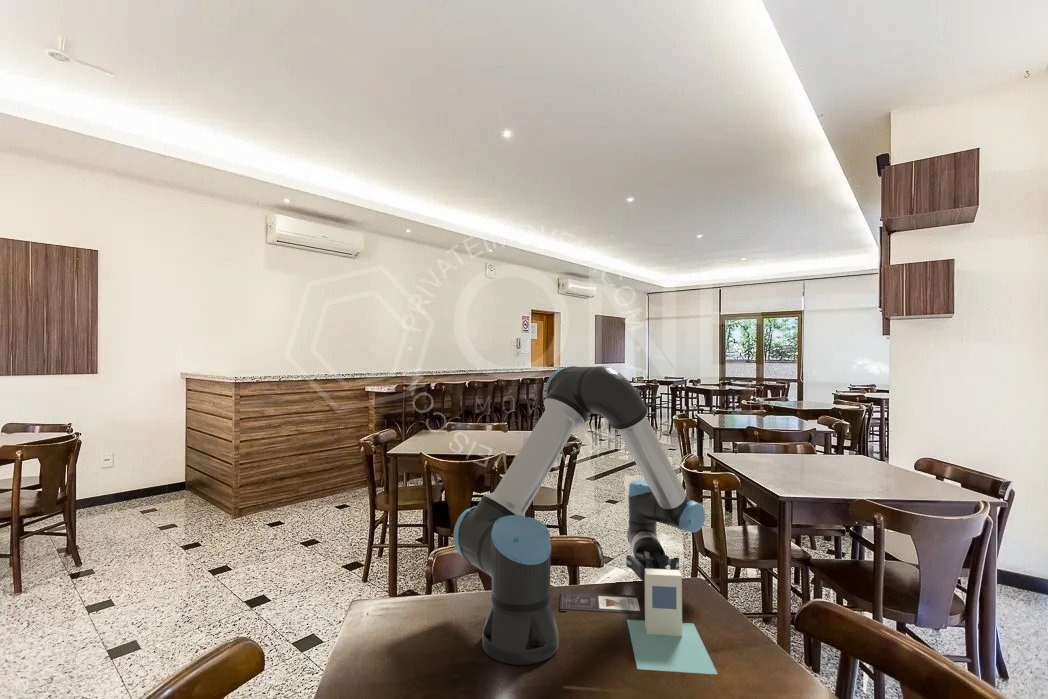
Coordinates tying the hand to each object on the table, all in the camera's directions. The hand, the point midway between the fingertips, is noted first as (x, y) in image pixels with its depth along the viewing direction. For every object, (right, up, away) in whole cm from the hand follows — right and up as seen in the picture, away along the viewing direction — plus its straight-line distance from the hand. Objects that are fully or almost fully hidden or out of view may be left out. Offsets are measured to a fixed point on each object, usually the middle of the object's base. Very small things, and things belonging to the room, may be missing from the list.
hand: (665, 590), depth 104 cm
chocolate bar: (-12, -9, +11) cm, 19 cm away
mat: (-1, -8, -7) cm, 10 cm away
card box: (-1, -7, -2) cm, 8 cm away
